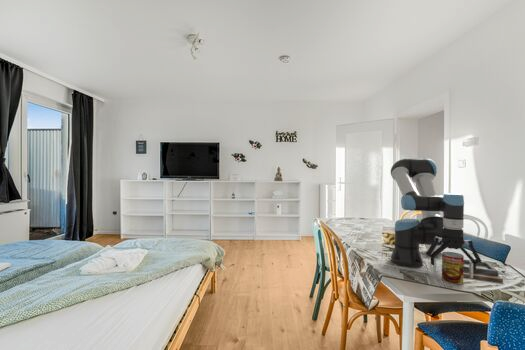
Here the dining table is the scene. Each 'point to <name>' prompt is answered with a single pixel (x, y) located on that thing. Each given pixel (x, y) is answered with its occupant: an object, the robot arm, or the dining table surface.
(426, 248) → the lidded jar
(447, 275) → the canned food
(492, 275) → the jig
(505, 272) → the dining table surface
